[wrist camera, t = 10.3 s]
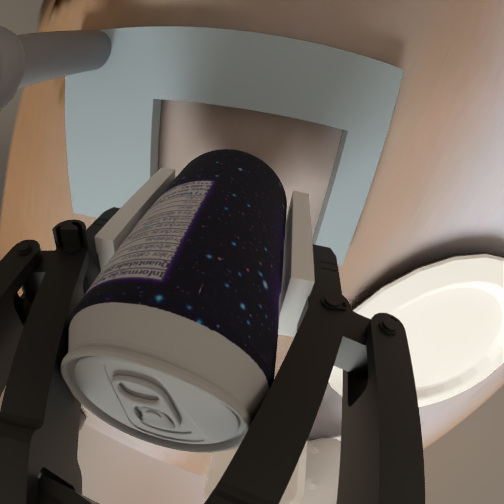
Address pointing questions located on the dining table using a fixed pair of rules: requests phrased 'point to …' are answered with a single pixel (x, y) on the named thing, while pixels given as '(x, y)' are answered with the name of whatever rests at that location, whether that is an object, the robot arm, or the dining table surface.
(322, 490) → the cable organizer
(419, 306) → the plate
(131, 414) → the beverage can
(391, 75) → the l-shaped desk stand
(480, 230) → the dining table surface
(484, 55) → the dining table surface
